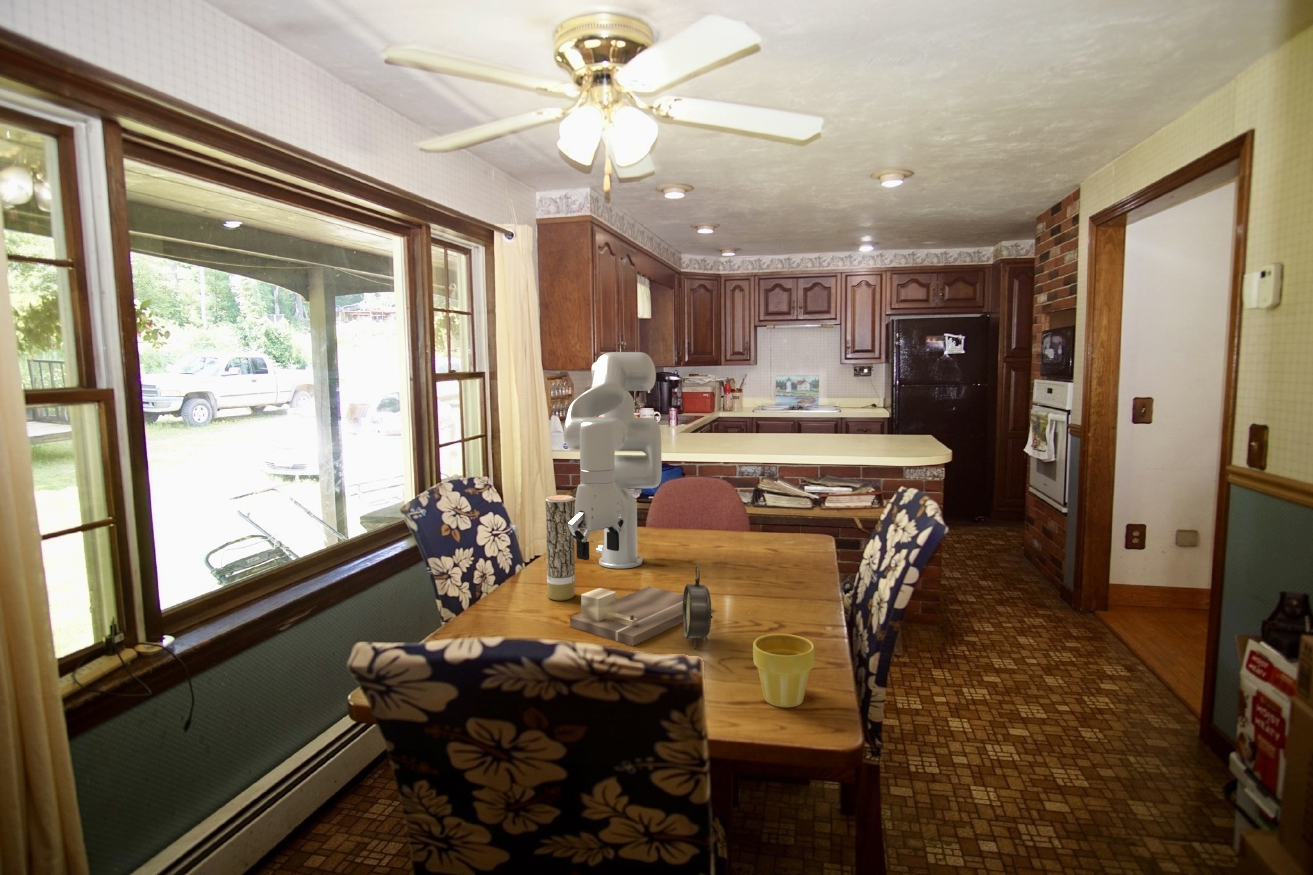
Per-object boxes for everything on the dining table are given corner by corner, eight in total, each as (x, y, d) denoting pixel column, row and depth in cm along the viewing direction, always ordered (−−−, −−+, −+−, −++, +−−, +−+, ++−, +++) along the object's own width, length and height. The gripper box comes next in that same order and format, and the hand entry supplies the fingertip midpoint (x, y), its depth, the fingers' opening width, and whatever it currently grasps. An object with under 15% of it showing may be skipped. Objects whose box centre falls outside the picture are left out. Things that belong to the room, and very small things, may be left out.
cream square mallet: (581, 616, 155) (581, 594, 155) (599, 609, 160) (599, 587, 160) (625, 629, 148) (625, 606, 147) (643, 621, 152) (643, 599, 152)
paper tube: (552, 603, 170) (551, 501, 168) (543, 595, 176) (541, 496, 174) (579, 598, 173) (577, 498, 171) (569, 591, 179) (567, 494, 177)
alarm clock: (681, 632, 151) (681, 558, 150) (706, 631, 152) (706, 557, 150) (687, 652, 141) (688, 573, 139) (714, 651, 141) (715, 572, 139)
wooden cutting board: (570, 626, 155) (570, 617, 155) (649, 594, 177) (649, 586, 177) (633, 646, 144) (633, 636, 144) (709, 609, 166) (709, 600, 166)
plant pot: (751, 684, 127) (751, 631, 126) (809, 686, 126) (810, 633, 125) (753, 712, 116) (754, 655, 115) (817, 714, 115) (818, 657, 114)
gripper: (611, 471, 162) (611, 544, 164) (556, 480, 149) (557, 560, 150) (636, 474, 158) (636, 549, 159) (582, 483, 144) (583, 565, 145)
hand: (598, 554), depth 155 cm, fingers open, 9 cm apart
